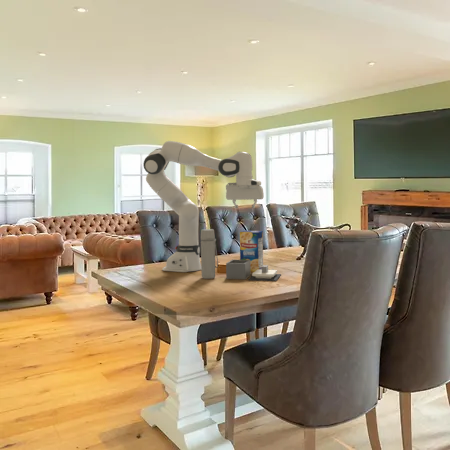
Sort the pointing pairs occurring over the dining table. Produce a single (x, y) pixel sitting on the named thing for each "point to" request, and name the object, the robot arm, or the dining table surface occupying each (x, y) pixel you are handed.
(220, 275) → the dining table surface
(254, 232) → the beverage box
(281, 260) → the dining table surface
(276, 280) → the mat
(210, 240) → the water bottle
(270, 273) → the lid
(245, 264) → the storage box
